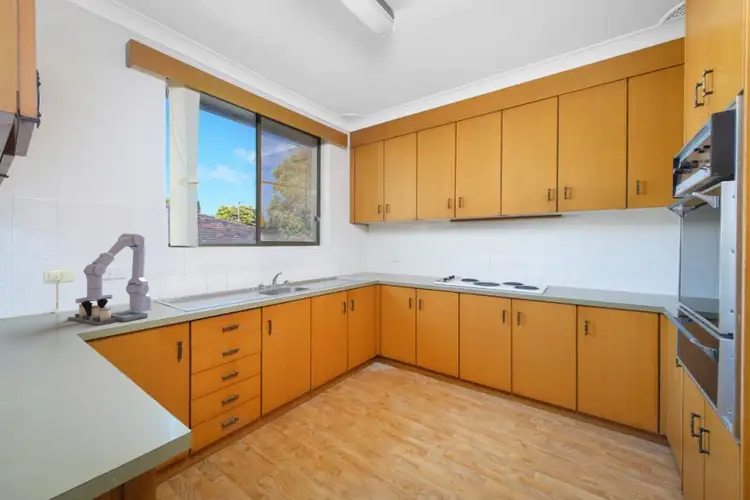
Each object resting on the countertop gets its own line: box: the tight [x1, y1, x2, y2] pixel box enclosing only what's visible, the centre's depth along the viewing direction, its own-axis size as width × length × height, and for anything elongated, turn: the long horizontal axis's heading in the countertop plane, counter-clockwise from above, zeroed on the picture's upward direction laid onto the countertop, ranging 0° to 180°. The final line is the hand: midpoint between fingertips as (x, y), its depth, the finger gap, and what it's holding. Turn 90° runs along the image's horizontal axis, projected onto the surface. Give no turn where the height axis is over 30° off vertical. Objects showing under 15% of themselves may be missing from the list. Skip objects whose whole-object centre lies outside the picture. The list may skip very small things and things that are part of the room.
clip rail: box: [67, 312, 122, 327], centre depth 161 cm, size 10×26×2 cm, turn 67°
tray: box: [111, 311, 149, 323], centre depth 167 cm, size 11×13×2 cm
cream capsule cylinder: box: [78, 303, 87, 319], centre depth 165 cm, size 4×4×7 cm
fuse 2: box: [100, 306, 112, 324], centre depth 158 cm, size 4×4×7 cm
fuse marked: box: [89, 304, 100, 321], centre depth 161 cm, size 4×4×7 cm
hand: (94, 315), depth 161 cm, fingers closed on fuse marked, 4 cm apart
